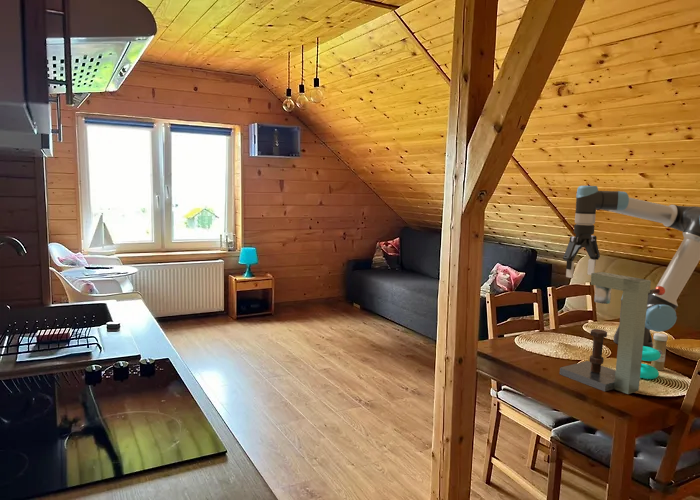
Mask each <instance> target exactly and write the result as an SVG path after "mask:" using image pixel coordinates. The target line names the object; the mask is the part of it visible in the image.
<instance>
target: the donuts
mask: <svg viewBox="0 0 700 500" xmlns="http://www.w3.org/2000/svg"><path fill="white" fill-rule="evenodd" d="M660 356H661V354H660V352H659V351H658V350H656V349H654V348H653V347H646V346H643V351H642V361H645V362H651V361H655V360H658V359H659V358H660ZM659 375H660V372H659V370H657V369H656V368H654V367H653V366H651V364H646V363H641V372H640V379H642V378H643V379H644V380H654V379H657V378H658V377H659Z"/></svg>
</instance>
